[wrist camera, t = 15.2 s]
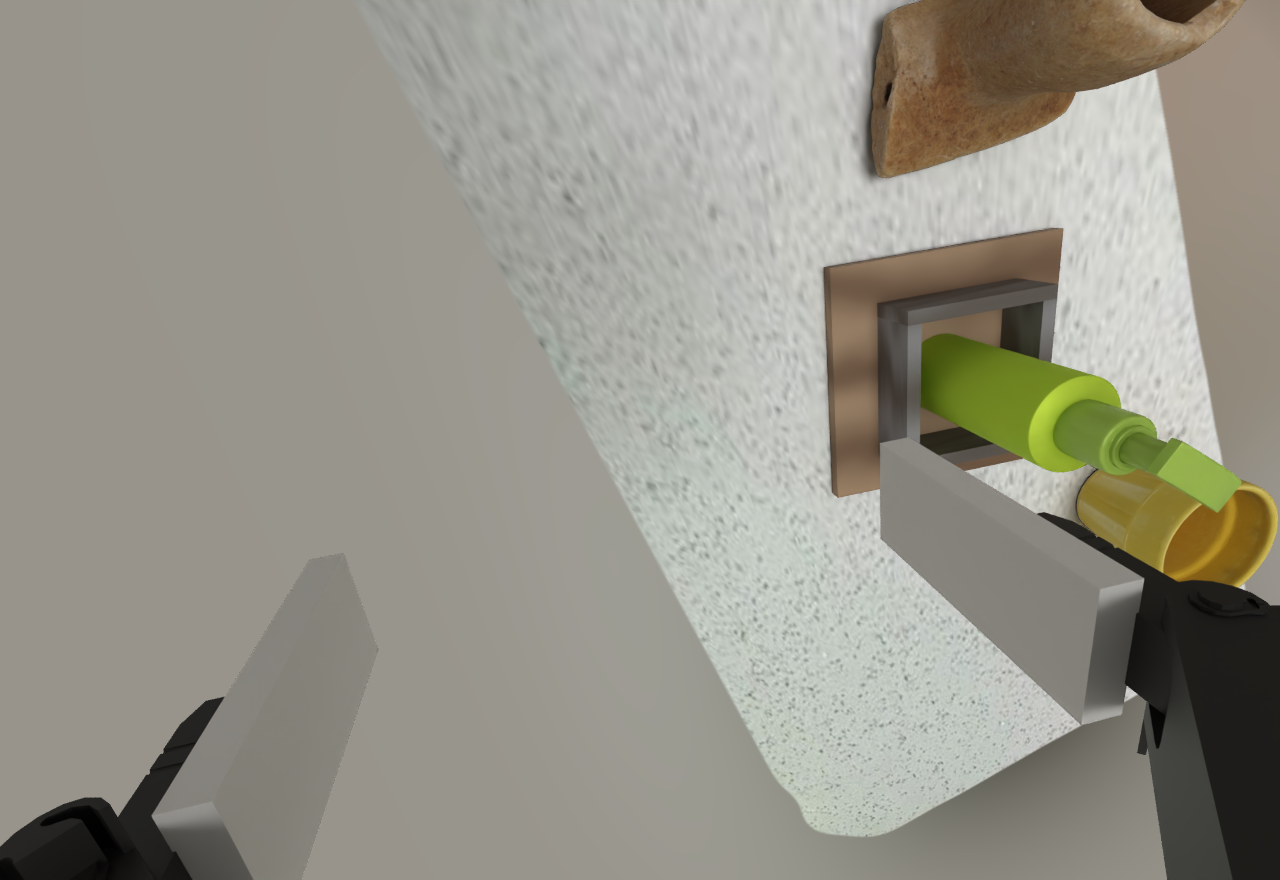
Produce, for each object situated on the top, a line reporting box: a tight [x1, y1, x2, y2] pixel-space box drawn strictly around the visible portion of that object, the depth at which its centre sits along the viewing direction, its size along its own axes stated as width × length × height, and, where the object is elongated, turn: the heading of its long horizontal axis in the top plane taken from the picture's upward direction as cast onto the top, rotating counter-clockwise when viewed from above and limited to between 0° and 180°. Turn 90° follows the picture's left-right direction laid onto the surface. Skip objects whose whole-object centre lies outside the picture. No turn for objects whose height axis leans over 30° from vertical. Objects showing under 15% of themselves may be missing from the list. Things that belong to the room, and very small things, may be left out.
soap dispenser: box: [920, 334, 1242, 513], centre depth 40 cm, size 6×7×20 cm
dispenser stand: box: [824, 228, 1063, 498], centre depth 48 cm, size 18×18×5 cm
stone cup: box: [871, 0, 1245, 178], centre depth 36 cm, size 15×12×15 cm
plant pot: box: [1077, 469, 1278, 588], centre depth 53 cm, size 10×10×10 cm
